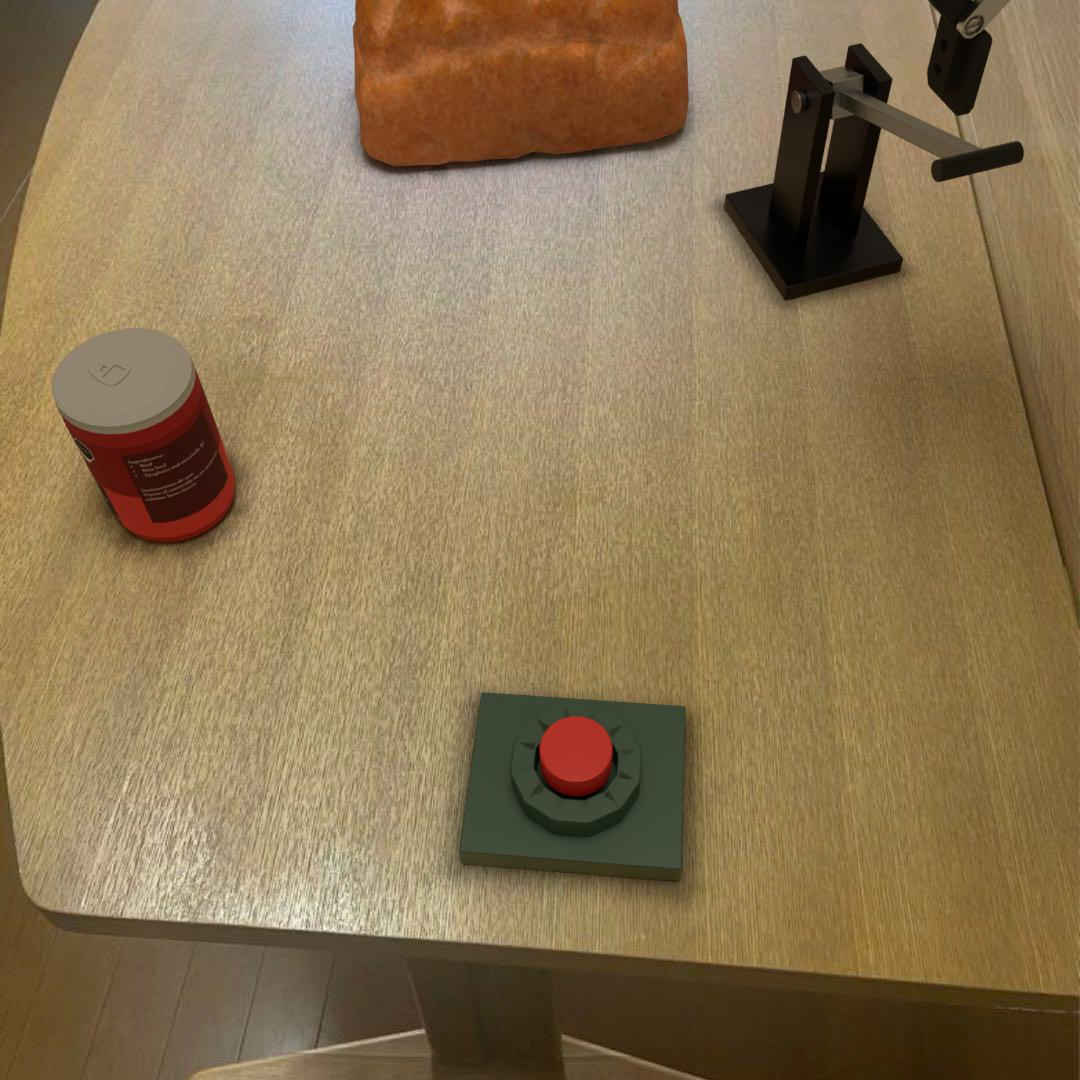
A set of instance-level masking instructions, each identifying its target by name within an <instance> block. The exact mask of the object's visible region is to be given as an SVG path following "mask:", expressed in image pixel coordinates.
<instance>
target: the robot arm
mask: <svg viewBox="0 0 1080 1080" xmlns="http://www.w3.org/2000/svg"><path fill="white" fill-rule="evenodd" d="M927 1H928V2H929V4H930V5H931V6H932V8H933V9H934V10H936V12H937V13H938V14H939V15H940V16H939V21H938V25H937V28H936V33H935V36H934V41H933V45H932V47H931V48H932V49H931V53H930V57H929V61H928V66H927V68H926V77H927V78H926V79H927V81H926V82H927V85H928V87H929V89H930V90H931V91H932V92H933V93H934V94H935V96H937V97H938V98H939V99H940V100H941V101H942V102H943V104H944V105H946V107H947V108H948V109H949V110H950V111H951V112H952V113H953V114H954V115H955V116H956V117H961V116H964V115H968V114H970V113H971V112H972V110H974V109H975V104H976V101H977V99H978V94H979V90H980V87H981V83H982V81H983V77H984V73H985V69H986V67H987V63H988V59H989V55H990V51H991V49H992V45H993V37H992V35H991V34H990V33H989V32H988V31H987V30H986V27H988V25H989V24H990V23H991V22H992V21H993V20H994V19H995V18H996V16H998V15H999V13H1000V12H1002V10H1003V9H1004V8H1005V7H1006V6H1007V5H1008V4H1009V2H1011V0H927Z"/></svg>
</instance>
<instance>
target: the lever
mask: <svg viewBox="0 0 1080 1080" xmlns="http://www.w3.org/2000/svg"><path fill="white" fill-rule="evenodd" d="M818 71H819V70H818ZM819 72H820V73H821V74H822V76H823V77H824V78H825V79H826V80H827V82H828V83H829V84H830V85H831V87H832V88H833V89H834V90H835V98H834V103H833V108H832V113H831V119H830V121H831V120H832V121H834V119H838V118H843V117H847V116H852V115H857V116H859V117H861V118H863V119H865V120H866V121H868V122H870V123H872V124H874V125H876V126H878V127H880V128H881V130H884V131H887V132H888V133H890V134H892V135H894V136H896V137H898V138H900V139H902V140H904V141H906V142H908V143H910V144H912V145H914V146H916V147H918V148H920V149H921V150H924V151H925V152H928V153H929V154H932V155H933V156H935V157H937V158H938V159H934V160H933V161H932V163H931V166H930V173H931V177H932V179H933V180H934V182H936V183H942V182H946V181H950V180H954V179H958V178H959V179H960V178H963V177H967V176H971V175H975V174H979V173H983V172H987V171H992V170H995V169H1001V168H1004V167H1009V166H1012V165H1016V164H1020V163H1021V162H1023V160H1024V157H1025V149H1024V146H1023V144H1022V143H1021V142H1020V141H1019V140H1014V141H1009V142H1005V143H1001V144H996V145H993V146H988V147H985V148H982V147H980V146H978V145H976V144H974V143H972V142H969V141H967V140H964V139H962V138H961V137H958V136H957V135H955V134H952V133H950V132H947V131H946V130H943V129H942V128H939V127H937V126H935V125H933V124H931V123H929V122H928V121H927V122H926V121H924V120H922V119H921V118H918V117H916V116H914V115H912V114H910V113H908V112H906V111H904V110H902V109H900V108H897V107H895V106H893V105H890V104H888V102H887V103H884V102H882V101H880V100H878V99H876V98H874V97H872V96H870V95H867V94H865V93H863V77H864V76H863V75H861V74H859V73H856V72H854V71H852V70H850V69H848V68H845V67H844V66H842V65H841V66H838V67H833V68H829V69H823V70H820V71H819Z"/></svg>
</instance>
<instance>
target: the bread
mask: <svg viewBox="0 0 1080 1080" xmlns="http://www.w3.org/2000/svg"><path fill="white" fill-rule="evenodd" d="M354 2H355V4H354V16H355V17H354V18H355V21H354V23H353V25H352V43H353V44H352V45H353V56H354V59H353V60H354V97H355V103H356V107H357V111H358V116H359V130H360V131H359V133H360V135H359V136H360V137H359V139H360V146H361V147H362V149H363V150H364V151H365V152H366V154H367V155H368V156H369V157H370V158H372V159H374V160H377V161H379V162H382V163H385V164H388V165H389V166H392V167H408V166H409V167H411V166H439V165H443V164H448V163H450V162H454V163H457V162H460V163H461V162H480V161H485V160H486V161H487V160H488V161H489V160H506V159H507V160H508V159H518V158H520V157H524V156H526V155H528V154H531V153H539V154H549V155H562V154H571V153H581V152H588V151H592V150H593V151H594V150H598V149H605V148H612V147H613V148H614V147H621V146H630V145H637V144H642V143H646V142H650V141H651V142H652V141H655V140H658V139H661V138H665V137H667V136H670V135H674V134H676V133H678V132H679V130H681V129H682V128H683V127H684V126H685V125H686V123H687V116H688V109H689V103H690V100H689V99H690V98H689V96H690V95H689V94H690V93H689V66H688V43H687V39H686V35H685V29H684V25H683V20H682V17H681V15H680V13H679V0H355V1H354Z"/></svg>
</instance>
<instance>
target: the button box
mask: <svg viewBox="0 0 1080 1080" xmlns="http://www.w3.org/2000/svg"><path fill="white" fill-rule="evenodd" d="M686 713H687V708H686V706H685V705H674V704H673V705H672V704H671V705H670V704H656V703H643V702H629V701H614V700H601V699H600V700H599V699H587V698H586V699H584V698H571V697H558V696H541V695H529V694H528V695H526V694H516V693H515V694H513V693H498V692H484V691H482V692H480V698H479V704H478V711H477V719H476V726H475V734H474V740H473V747H472V754H471V762H470V769H469V775H468V776H469V777H468V783H467V790H466V797H465V805H464V812H463V817H462V818H463V819H462V826H461V833H460V840H459V847H458V852H459V856H460V862H461V864H462V865H474V866H485V867H498V868H509V869H510V868H512V869H522V870H534V871H535V870H536V871H548V872H559V873H571V874H586V875H595V876H596V875H597V876H610V877H619V878H620V877H622V878H631V879H632V878H633V879H644V880H645V879H646V880H657V881H669V882H670V881H671V882H679V881H680V880H681V876H682V875H681V874H682V869H683V835H684V834H683V833H684V832H683V830H684V797H685V796H684V795H685V794H684V793H685V792H684V791H685V759H686V758H685V755H686V718H687V717H686V715H687V714H686ZM572 716H580V717H586V718H589V719H592V720H594V721H596V722H597V723H599V724H600V725H601V726H602V727H603V728H604V729H605V730H606V731H607V733H608V734H609V736H610V739H611V742H612V747H613V753H612V769H611V773H610V776H609V778H608V780H607V781H606V782H605V784H604V785H603V786H602V787H601V788H600V789H598V790H597V791H595V792H593V793H591V794H588V795H585V796H568V795H564V794H562V793H559V792H558V791H556V790H554V789H553V788H552V787H551V786H550V785H549V784H548V783H547V782H546V780H545V779H544V777H543V774H542V771H541V765H540V742H541V739H542V736H543V734H544V733H545V731H546V730H547V729H548V728H549V727H550V726H551V725H552V724H553V723H555V722H556V721H558V720H560V719H563V718H566V717H572Z"/></svg>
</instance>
